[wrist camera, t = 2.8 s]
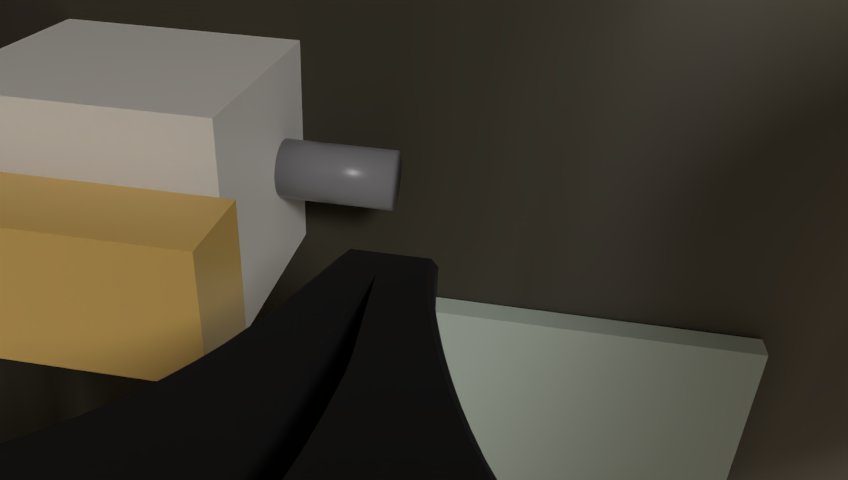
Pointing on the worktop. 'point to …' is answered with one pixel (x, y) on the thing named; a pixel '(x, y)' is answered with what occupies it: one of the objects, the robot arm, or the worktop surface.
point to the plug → (184, 129)
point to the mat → (598, 393)
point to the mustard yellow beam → (116, 276)
